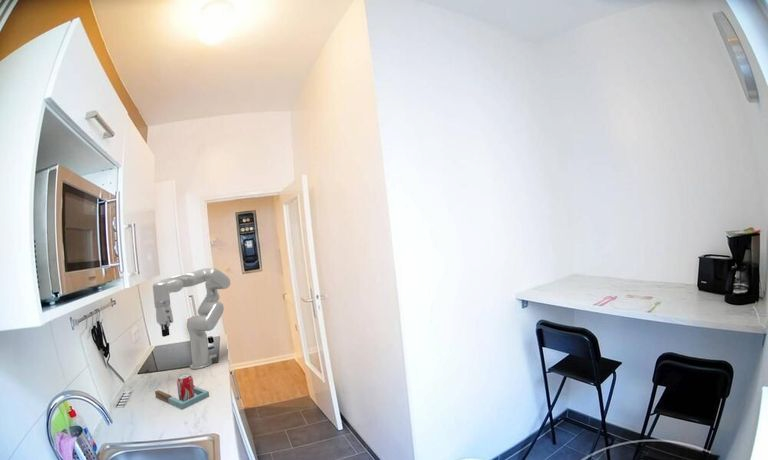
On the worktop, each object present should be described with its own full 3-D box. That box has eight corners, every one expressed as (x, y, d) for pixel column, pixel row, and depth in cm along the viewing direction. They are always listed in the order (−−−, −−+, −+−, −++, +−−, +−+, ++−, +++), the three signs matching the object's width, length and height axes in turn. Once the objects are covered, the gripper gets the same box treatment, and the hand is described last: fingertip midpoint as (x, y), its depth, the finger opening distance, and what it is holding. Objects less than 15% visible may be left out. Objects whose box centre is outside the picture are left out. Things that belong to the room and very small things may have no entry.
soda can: (176, 401, 175) (173, 378, 175) (190, 394, 181) (187, 372, 181) (184, 404, 171) (181, 380, 171) (197, 397, 178) (195, 374, 177)
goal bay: (195, 390, 185) (194, 386, 185) (209, 396, 178) (208, 391, 178) (168, 402, 174) (168, 398, 174) (182, 409, 167) (181, 404, 167)
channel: (181, 385, 193) (181, 380, 193) (195, 390, 185) (194, 385, 185) (155, 397, 182) (155, 391, 182) (168, 402, 174) (168, 397, 174)
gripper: (176, 303, 196) (179, 335, 197) (163, 301, 205) (166, 332, 205) (161, 306, 190) (165, 339, 191) (149, 304, 198) (152, 336, 199)
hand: (165, 335), depth 198 cm, fingers closed
